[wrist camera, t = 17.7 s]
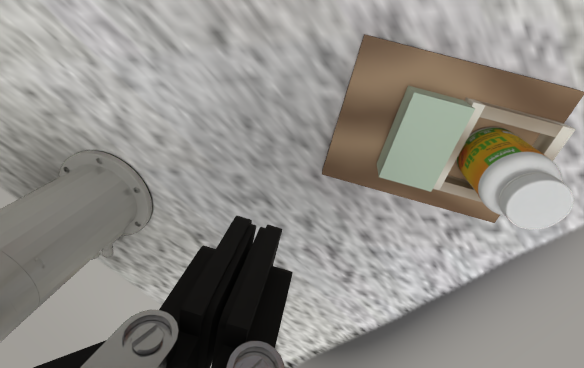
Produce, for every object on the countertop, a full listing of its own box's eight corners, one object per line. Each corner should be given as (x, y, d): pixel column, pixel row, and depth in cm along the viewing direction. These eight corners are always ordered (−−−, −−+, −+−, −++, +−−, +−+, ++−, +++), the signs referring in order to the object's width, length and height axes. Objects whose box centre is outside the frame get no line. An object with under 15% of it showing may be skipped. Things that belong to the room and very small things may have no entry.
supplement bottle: (487, 113, 28) (547, 154, 19) (531, 146, 28) (607, 200, 20) (442, 158, 30) (477, 211, 22) (483, 187, 31) (533, 250, 22)
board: (490, 216, 34) (502, 234, 31) (322, 169, 34) (319, 182, 32) (576, 89, 27) (602, 97, 24) (364, 34, 28) (365, 35, 25)
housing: (424, 176, 31) (431, 191, 28) (376, 163, 31) (378, 177, 29) (463, 100, 27) (475, 108, 25) (408, 85, 27) (414, 92, 25)
